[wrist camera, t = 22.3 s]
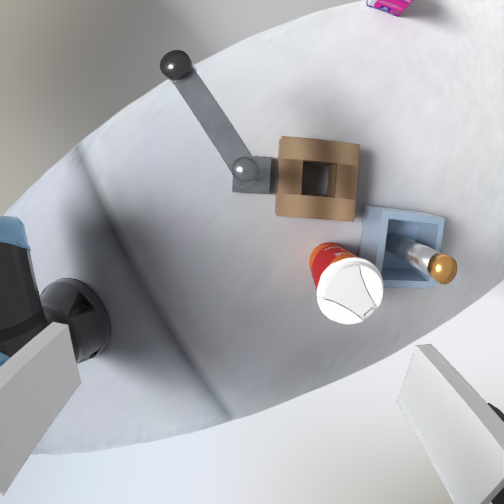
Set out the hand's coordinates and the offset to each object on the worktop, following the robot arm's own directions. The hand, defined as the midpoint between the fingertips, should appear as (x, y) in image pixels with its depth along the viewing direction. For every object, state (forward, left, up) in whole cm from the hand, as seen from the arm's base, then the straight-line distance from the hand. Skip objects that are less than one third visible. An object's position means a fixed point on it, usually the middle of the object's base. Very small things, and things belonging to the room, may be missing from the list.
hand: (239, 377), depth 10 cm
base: (-1, +7, -34) cm, 35 cm away
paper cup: (+11, -4, -35) cm, 37 cm away
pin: (+21, -1, -33) cm, 39 cm away
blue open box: (+21, -1, -34) cm, 40 cm away
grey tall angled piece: (-4, +12, -33) cm, 35 cm away
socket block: (+8, +7, -34) cm, 36 cm away
